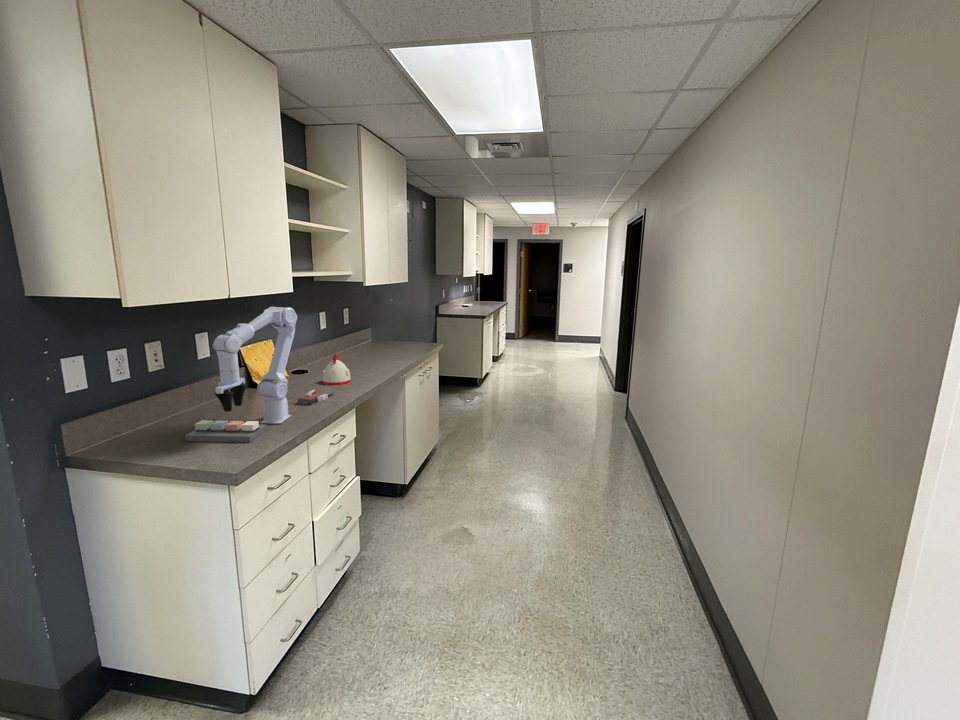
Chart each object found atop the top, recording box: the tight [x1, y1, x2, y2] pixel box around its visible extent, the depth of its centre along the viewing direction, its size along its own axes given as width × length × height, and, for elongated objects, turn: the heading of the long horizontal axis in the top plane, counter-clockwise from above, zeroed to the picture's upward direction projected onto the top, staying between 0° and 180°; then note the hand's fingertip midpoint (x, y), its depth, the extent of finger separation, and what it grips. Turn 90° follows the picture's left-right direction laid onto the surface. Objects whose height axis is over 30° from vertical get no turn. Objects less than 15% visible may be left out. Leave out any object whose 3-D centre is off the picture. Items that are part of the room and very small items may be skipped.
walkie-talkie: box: [297, 389, 335, 406], centre depth 201 cm, size 9×4×20 cm
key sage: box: [194, 420, 214, 432], centre depth 156 cm, size 4×4×3 cm
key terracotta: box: [226, 420, 245, 432], centre depth 156 cm, size 4×4×3 cm
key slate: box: [210, 420, 229, 432], centre depth 156 cm, size 4×4×3 cm
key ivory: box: [241, 420, 260, 433], centre depth 156 cm, size 4×4×3 cm
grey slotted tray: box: [185, 423, 268, 443], centre depth 156 cm, size 12×22×2 cm, turn 89°
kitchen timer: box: [322, 353, 352, 386], centre depth 230 cm, size 14×14×15 cm
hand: (233, 408), depth 155 cm, fingers open, 6 cm apart
